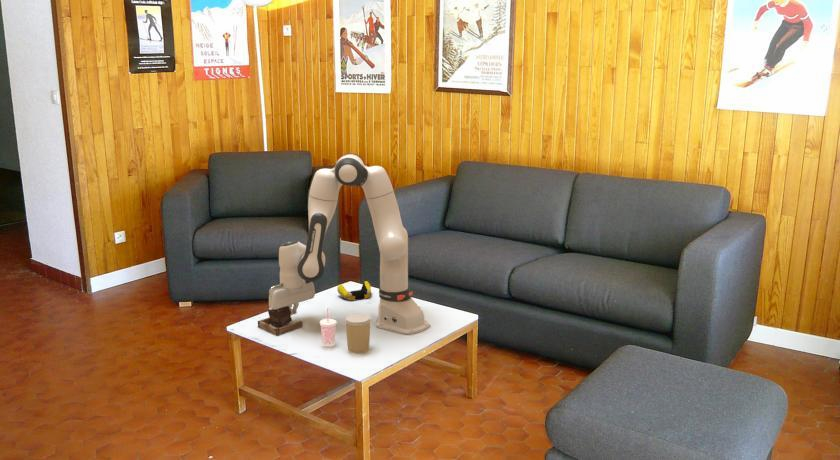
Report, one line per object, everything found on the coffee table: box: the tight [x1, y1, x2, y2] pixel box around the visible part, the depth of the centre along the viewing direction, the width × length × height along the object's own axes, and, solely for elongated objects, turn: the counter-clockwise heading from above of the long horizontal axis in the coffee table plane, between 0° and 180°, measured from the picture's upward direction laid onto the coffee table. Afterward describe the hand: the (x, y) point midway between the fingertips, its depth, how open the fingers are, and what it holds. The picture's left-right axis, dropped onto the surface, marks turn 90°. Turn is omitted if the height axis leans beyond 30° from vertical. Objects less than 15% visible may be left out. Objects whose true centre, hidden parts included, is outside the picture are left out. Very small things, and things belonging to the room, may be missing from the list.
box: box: [267, 306, 293, 328], centre depth 290 cm, size 6×6×7 cm
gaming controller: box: [336, 280, 372, 301], centre depth 323 cm, size 15×6×10 cm
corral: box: [257, 316, 303, 336], centre depth 288 cm, size 13×12×2 cm
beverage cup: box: [319, 308, 337, 348], centre depth 270 cm, size 6×6×14 cm
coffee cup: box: [344, 313, 372, 354], centre depth 267 cm, size 9×9×12 cm
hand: (292, 314), depth 292 cm, fingers closed
